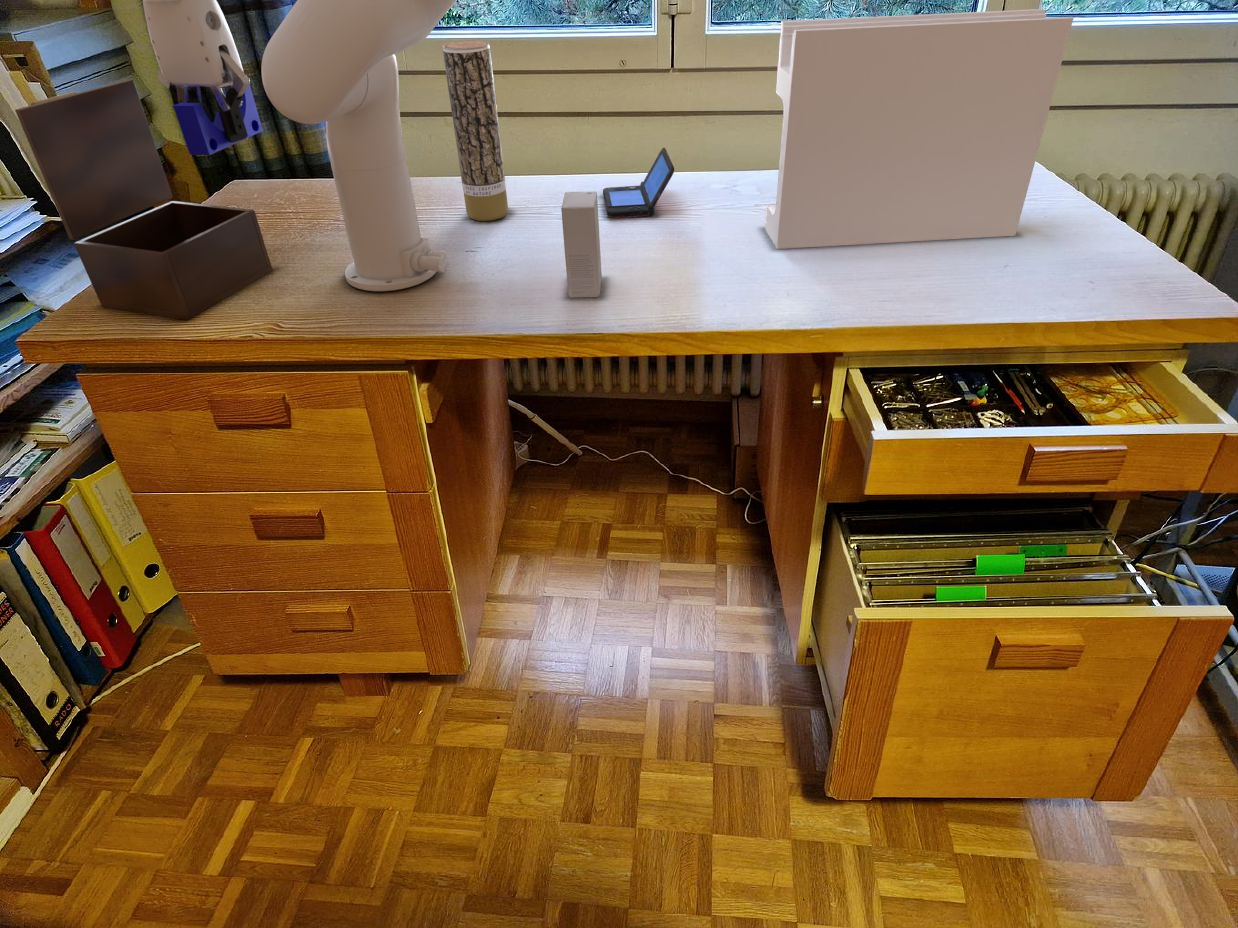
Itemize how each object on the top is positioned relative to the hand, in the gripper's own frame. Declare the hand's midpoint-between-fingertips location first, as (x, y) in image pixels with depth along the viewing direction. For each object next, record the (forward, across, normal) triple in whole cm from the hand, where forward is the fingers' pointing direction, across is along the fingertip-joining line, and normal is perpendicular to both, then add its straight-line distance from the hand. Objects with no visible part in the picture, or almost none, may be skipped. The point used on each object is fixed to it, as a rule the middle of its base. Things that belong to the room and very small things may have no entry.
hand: (221, 137), depth 110 cm
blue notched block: (+1, 0, 0) cm, 1 cm away
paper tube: (+18, -24, -26) cm, 40 cm away
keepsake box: (+17, +2, +12) cm, 21 cm away
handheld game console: (+18, -45, -38) cm, 62 cm away
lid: (0, +8, +12) cm, 14 cm away
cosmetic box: (+18, -51, -5) cm, 54 cm away
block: (+18, -86, -38) cm, 95 cm away
